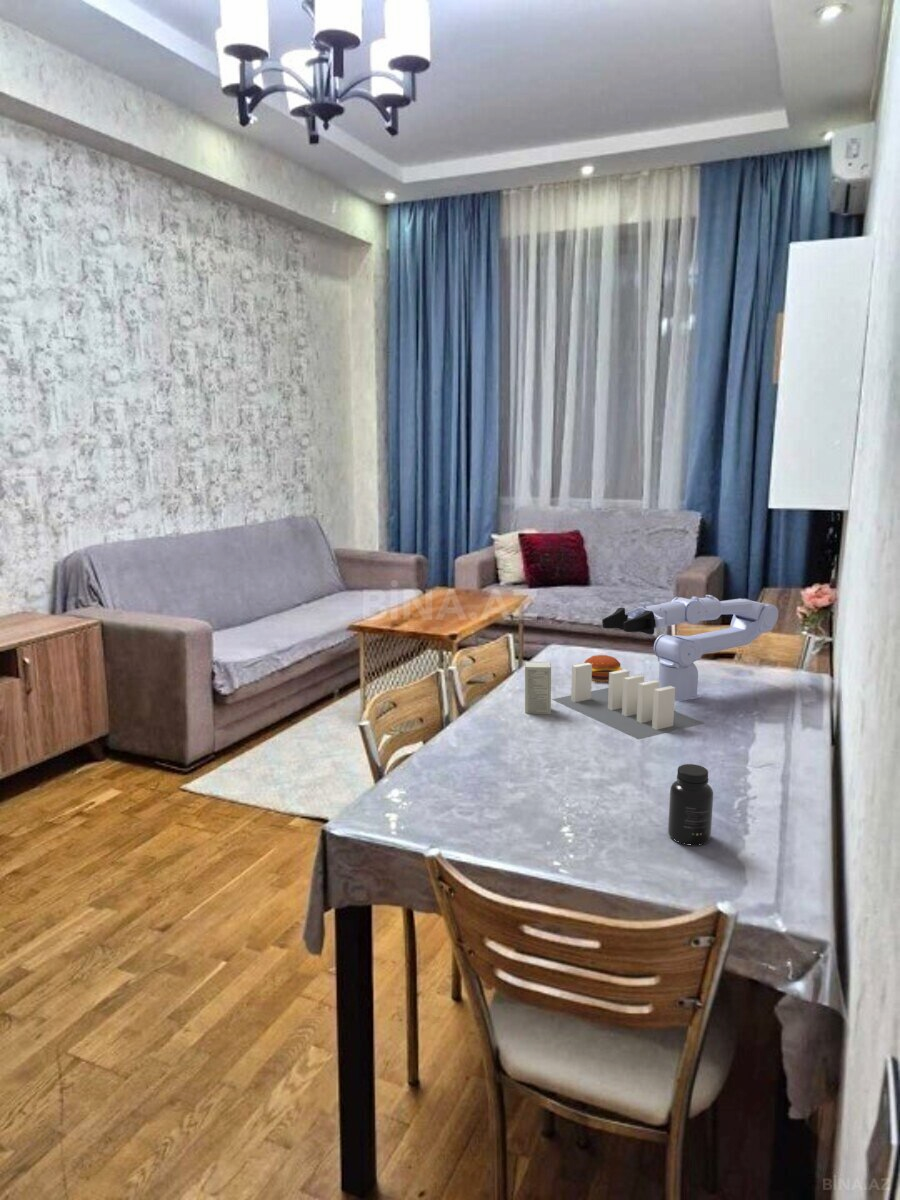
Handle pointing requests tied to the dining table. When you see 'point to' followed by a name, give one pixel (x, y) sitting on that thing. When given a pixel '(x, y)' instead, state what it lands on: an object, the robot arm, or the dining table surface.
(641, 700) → the domino
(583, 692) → the domino
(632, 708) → the domino
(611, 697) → the domino
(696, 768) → the supplement bottle
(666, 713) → the domino
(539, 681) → the skincare box
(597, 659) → the hamburger
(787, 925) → the dining table surface
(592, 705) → the mat
